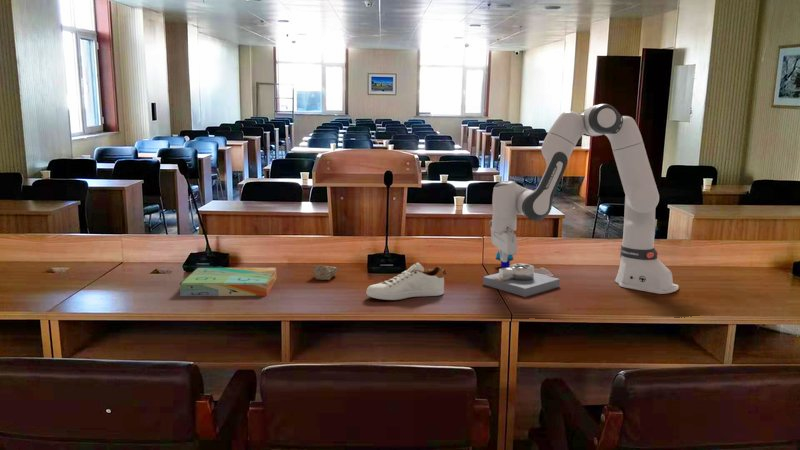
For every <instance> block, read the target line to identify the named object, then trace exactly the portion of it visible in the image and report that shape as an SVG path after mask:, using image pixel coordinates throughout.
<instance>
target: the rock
mask: <svg viewBox="0 0 800 450" xmlns="http://www.w3.org/2000/svg"><path fill="white" fill-rule="evenodd" d="M338 271H339V268H338V267H336V266H330V265H313V266H312V273H313V275H314V278H315V279H316V281H320V280H322V281H330V280H331V279H332V278H333V276H335V275H336V274H337V273H338Z"/></svg>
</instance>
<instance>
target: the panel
mask: <svg viewBox="0 0 800 450" xmlns="http://www.w3.org/2000/svg"><path fill="white" fill-rule="evenodd" d="M560 281H561V279H560V278H557V277H554V276H550V275H545V274H542V273H539V272H538V273H537V272H534V278H533V279H531V280H516V279H512V278H509V279H501V278H499V272H497V273H492V274H488V275H485V276H483V277H482V285H484V286H487V287H490V288H494V289H497V290H501V291H505V292H507V293H512V294H515V295H518V296H521V297H524V298H526V297H529V296H533V295H536V294H540V293H543V292H546V291H549V290H553V289H556V288H560V283H561V282H560Z"/></svg>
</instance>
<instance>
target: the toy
mask: <svg viewBox="0 0 800 450" xmlns="http://www.w3.org/2000/svg"><path fill="white" fill-rule="evenodd" d="M495 256H496V257H495V260H497V261H500V267H501V268H510V265H511V263H510V262H512V261H514V256H513V255H508V257H507V262H503V261H501V260H500V252H499V250H498V251H497V253H496V255H495Z"/></svg>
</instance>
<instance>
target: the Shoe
mask: <svg viewBox="0 0 800 450" xmlns="http://www.w3.org/2000/svg"><path fill="white" fill-rule="evenodd" d="M396 275H397V276H393V278H389V279H388V280H384V281H380V282H378V283H376V284H375V283H374V284H371V285H369V286H368V287H367V289H366V291H365V292H366V295H367V296H368V297H370V298H372V299H377V300H384V301H398V300H404V299H409V298H417V297H418V298H419V297H438V296H439V297H440V296H442V295H444V293H445V279H444V278H445V277H444V273H443V268H442V267H441V266H439V265H436V266H434V268H433V270H429V271H425V268H424V266H423V265H422V264H421V263H419V262H416V263H413V264H412V265H411V266H410V267H409V268H408V269H407V270H404V271H402V272H401V273H399V274H396Z"/></svg>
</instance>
